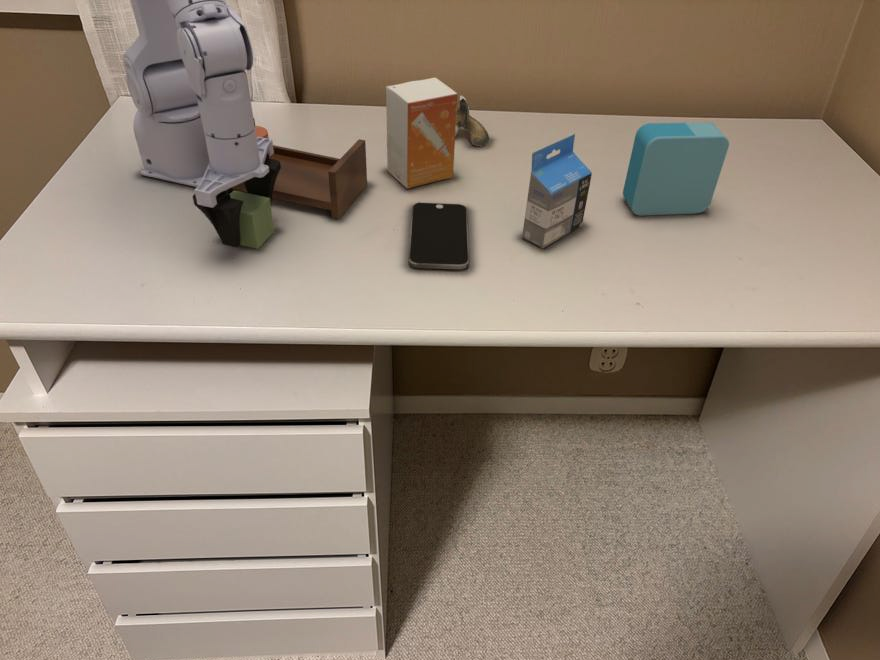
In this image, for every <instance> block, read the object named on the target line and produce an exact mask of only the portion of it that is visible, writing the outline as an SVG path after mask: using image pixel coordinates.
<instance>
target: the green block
mask: <svg viewBox="0 0 880 660" xmlns="http://www.w3.org/2000/svg"><path fill="white" fill-rule="evenodd" d="M228 195H230V197H231V198H232V199H237V200H241V201H244V202H243V204H242V207H241V212H240V222H239V223H240V235H241V241H240V245H239V246H243V247H248V248H252V249H256V250H259V249H260V248H261V246H262V245H263V244H264V243H266V241H267V240H268V239H269V238H270V237H271V236H272V235H273V234H274V233H275V224H274V218H273V217H274V216H273V212H272V203H271V204H270V198H267V197H263V196H258V195H254V194H249V193H247V192H245V191H240V190H236V189H233V190H232V192H230V193H229V194H228Z"/></svg>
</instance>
